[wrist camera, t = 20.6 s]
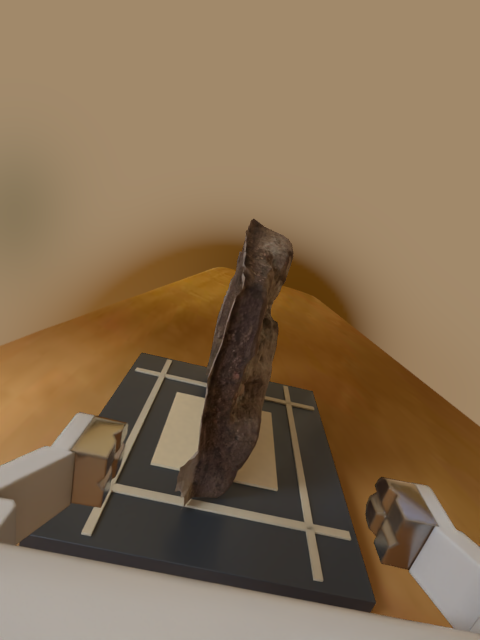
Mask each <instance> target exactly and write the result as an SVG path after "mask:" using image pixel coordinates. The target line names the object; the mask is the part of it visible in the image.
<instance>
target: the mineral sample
mask: <svg viewBox="0 0 480 640" xmlns="http://www.w3.org/2000/svg"><path fill="white" fill-rule="evenodd" d="M292 259H293V249H292V244H291V243H290V241H289V239H287V238H286V237H284V236H283V235H281V234H279V233H276V232H274V231H272V230H270V229H268V228H266V227H264V226H263V225H261V224H260V223H259V222H257V221H256V220H255V219H253V220H251V223H250V226H249V227H248V230H247V231H246V239H245V242H244V246H243V250H242V253H241V252H240V253H239V257H238V261H237V269H236V273H235V275H234V277H233V278H232V279H231V282H230V285H229V289H228V291H227V294H226V296H225V297H224V303H223V304H222V307H221V311H220V312H219V316H218V320H217V324H216V329H215V334H214V339H213V345H212V350H211V355H210V359H209V362H208V366H207V370H206V375H209V376H208V379H207V387H206V395H205V402H204V409H203V413H202V416H201V424H200V433H199V445H198V451H197V452H196V453H195V454H194V455H193V456H192V457H191V458H190V459H189V460H188V462H187V463H186V464H185V465H184V466H182V467H180V471H179V474H178V476H177V485H176V489H175V492H176V491H180V492H181V497H180V498H182V497H184V506H185V505H186V504H187V503H188V501H189V500H190V499H191V498H195V497H210V498H217V497H219V496H221V495H222V494H224V493H225V492H226V491H227V490H228V489H229V487H230V486H231V485H232V483H233V481H234V479H235V477H236V475H237V472H238V470H239V469H241V468H242V466H243V465H244V463H245V462H246V461H247V459H248V458H249V456H250V454H251V452H252V451H253V449H254V447H255V446H256V443H257V440H258V438H259V432H260V426H261V415H262V407H263V403H264V400H265V394H266V390H267V387H268V384H269V380H270V377H271V371H272V361H273V358H274V354H275V350H276V346H277V336H278V323H277V322H276V321H274V320H273V318H272V317H271V306H272V304H273V301H274V300H275V299H276V297H277V296H278V294H279V292H280V290H281V287H282V285H283V284H284V282H285V281H286V277H287V274H288V271H289V268H290V265H291V262H292ZM184 506H183V507H184ZM183 507H182V508H183Z"/></svg>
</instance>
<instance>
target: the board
mask: <svg viewBox="0 0 480 640" xmlns="http://www.w3.org/2000/svg"><path fill="white" fill-rule="evenodd" d="M206 370H207V367H203V366H199V365H194V364H190V363H186V362H181V361H177V360H172V359H168V358H164V357H159V356H155V355H150V354H146V353H141V354H140V356H139V357H138V359H137V360H136V362H135V363H134V365H133V366H132V368H131V369H130V370H129V372H128V373H127V375H126V376H125V378H124V379H123V381H122V382H121V384H120V385H119V387H118V388H117V390H116V391H115V393H114V394H113V396H112V397H111V399H110V400H109V402H108V403H107V405H106V406H105V407H104V409H103V410H102V412H101V413H100V415H99V416H100V417H105V418H109V419H113V420H117V421H122V422H126V423H128V431H127V435H126V437H125V439H124V441H123V442H124V444H125V451H124V456H123V460H122V463H121V466H120V468H119V471H118V473H117V475H116V477H115V478H113V479H112V480H111V486H110V490H109V492H108V494H107V496H106V498H105V501H104V503H103V505H102V507H101V508H98V507H92V506H86V505H80V504H74V503H70V505H69V506H68V507H67V508H65V509H64V510H63V511H61V512H60V513H58V514H57V515H56V516H54V517H53V518H52V519H50V520H49V521H48V522H46V523H45V524H44V525H42V526H41V527H39V528H38V529H37V530H35V531H34V532H33V533H31V534H30V535H29V536H27V537H26V538H24V539H23V540H22V541H20V542H19V546H22V547H27V548H33V549H38V550H43V551H48V552H54V553H59V554H64V555H69V556H75V557H80V558H85V559H90V560H96V561H101V562H106V563H111V564H117V565H122V566H127V567H133V568H138V569H143V570H148V571H154V572H159V573H164V574H169V575H175V576H180V577H185V578H190V579H196V580H201V581H206V582H211V583H217V584H222V585H227V586H232V587H238V588H243V589H248V590H253V591H259V592H264V593H269V594H274V595H280V596H285V597H290V598H295V599H301V600H306V601H311V602H317V603H322V604H327V605H332V606H337V607H343V608H348V609H353V610H358V611H364V612H369V613H370V612H371V611H372V609H373V607H374V605H375V604H376V601H375V598H374V594H373V591H372V588H371V584H370V581H369V578H368V574H367V571H366V568H365V564H364V561H363V558H362V554H361V551H360V548H359V544H358V541H357V538H356V534H355V531H354V528H353V524H352V521H351V518H350V514H349V511H348V508H347V504H346V501H345V498H344V494H343V491H342V488H341V484H340V481H339V478H338V474H337V471H336V468H335V464H334V461H333V458H332V455H331V451H330V448H329V445H328V441H327V438H326V435H325V431H324V428H323V425H322V421H321V418H320V415H319V411H318V408H317V405H316V401H315V398H314V395H313V391H309V390H305V389H300V388H296V387H292V386H287V385H283V384H278V383H274V382H270V381H269V384H268V387H267V390H266V394H265V400H264V403H263V407H262V415H261V426H260V432H259V438H258V440H257V443H256V446H255V447H254V449H253V451H252V452H251V454H250V456H249V458H248V459H247V461H246V462H245V463H244V465H243V466H242V468H241V469H239V470H238V472H237V475H236V477H235V479H234V481H233V483H232V485H231V486H230V487H229V489H228V490H227V491H226V492H225V493H224V494H222V495H221V496H219V497H217V498H210V497H195V498H191V499H190V500H189V501H188V503H187V504H186V505H185V506H184V497H182V498H180V497H181V492H180V491H176V492H175V489H176V485H177V476H178V474H179V471H180V467H182V466H184V465H185V464H186V463H187V462H188V460H189V459H190V458H191V457H192V456H193V455H194V454H195V453H196V452H197V451H198V445H199V433H200V424H201V416H202V413H203V409H204V402H205V395H206V387H207V379H208V376H209V375H206ZM183 506H184V507H183ZM182 507H183V508H182Z"/></svg>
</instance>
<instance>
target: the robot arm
mask: <svg viewBox="0 0 480 640" xmlns="http://www.w3.org/2000/svg"><path fill="white" fill-rule="evenodd" d="M127 431H128V423H126V422H122V421H117V420H113V419H109V418H105V417H100V416H95V415H91V414H86V413H82V412H79V413H77V414H76V415H75V416H74V417H73V419H72V420H71V421H70V422H69V424H68V425H67V426H66V428H65V429H64V430H63V431H62V433H61V434H60V435H59V436H58V438H57V439H56V440H55V442H54V443H53V444H52V445H51V447H48V446H44V447H42V448H39V449H37V450H35V451H33V452H30V453H28V454H26V455H23V456H21V457H19V458H17V459H14V460H12V461H10V462H7V463H5V464H3V465H1V466H0V640H480V547H479V546H478V545H477V544H476V543H474V542H473V541H472V540H471V539H470V538H469V537H467V536H466V535H465V534H464V533H463V532H461V531H457V530H456V528H455V527H454V525H453V524H452V522H451V520H450V519H449V517H448V515H447V514H446V512H445V510H444V509H443V507H442V505H441V504H440V502H439V501H438V499H437V497H436V496H435V494H434V492H433V491H432V489H431V488H430V487H428V486H427V485H422V484H417V483H409V482H404V481H400V480H395V479H390V478H385V477H381V478H380V479H378V481H377V483H376V485H375V488H376V491H377V492H376V493H375V494H373V495H371V496H370V497H369V500H368V502H367V504H366V521H367V524H368V527H369V529H370V530H371V531H372V532H373V533H374V535H375V536H376V538H375V540H374V544H375V547H376V550H377V553H378V556H379V558H380V561H381V564H385V565H389V566H394V567H398V568H403V569H407V570H409V573H410V574H411V575H412V576H413V578H414V579H415V580H416V581H417V583H418V584H419V585H420V586H421V588H422V589H423V590H424V591H425V593H426V594H427V595H428V596H429V598H430V599H431V600H432V602H433V603H434V604H435V605H436V607H437V608H438V609H439V610H440V612H441V613H442V614H443V615H444V617H445V618H446V619H447V620H448V622H449V623H450V624H451V625H452V627H453V628H454V629H453V628H448V627H442V626H437V625H432V624H426V623H421V622H416V621H411V620H405V619H400V618H395V617H390V616H384V615H379V614H374V613H369V612H364V611H358V610H353V609H348V608H343V607H337V606H332V605H327V604H322V603H317V602H311V601H306V600H301V599H295V598H290V597H285V596H280V595H274V594H269V593H264V592H259V591H253V590H248V589H243V588H238V587H232V586H227V585H222V584H217V583H211V582H206V581H201V580H196V579H190V578H185V577H180V576H175V575H169V574H164V573H159V572H154V571H148V570H143V569H138V568H133V567H127V566H122V565H117V564H111V563H106V562H101V561H96V560H90V559H85V558H80V557H75V556H69V555H64V554H59V553H54V552H48V551H43V550H38V549H33V548H27V547H22V546H17V545H16V544H18V543H19V542H20V541H22V540H23V539H24V538H26V537H27V536H29V535H30V534H31V533H33V532H34V531H35V530H37V529H38V528H39V527H41V526H42V525H44V524H45V523H46V522H48V521H49V520H50V519H52V518H53V517H54V516H56V515H57V514H58V513H60V512H61V511H63V510H64V509H65V508H67V507H68V506H69V505H70V503H74V504H80V505H86V506H92V507H98V508H101V507H102V505H103V503H104V501H105V498H106V496H107V494H108V492H109V490H110V486H111V480H112V479H113V478H115V477H116V475H117V473H118V471H119V468H120V466H121V463H122V460H123V456H124V451H125V444H124V442H123V441H124V439H125V437H126V435H127Z"/></svg>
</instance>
